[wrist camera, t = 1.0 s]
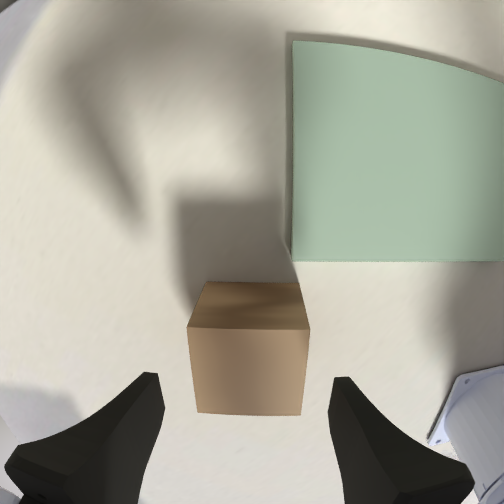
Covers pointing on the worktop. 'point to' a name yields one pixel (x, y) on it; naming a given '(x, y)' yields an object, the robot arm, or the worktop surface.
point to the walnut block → (249, 348)
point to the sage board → (394, 158)
